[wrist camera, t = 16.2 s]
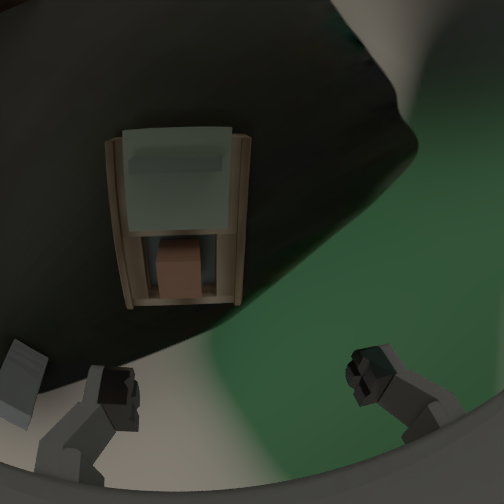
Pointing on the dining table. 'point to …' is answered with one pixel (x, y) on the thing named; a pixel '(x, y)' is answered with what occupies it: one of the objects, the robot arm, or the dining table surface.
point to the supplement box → (20, 383)
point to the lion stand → (9, 4)
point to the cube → (179, 269)
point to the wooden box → (181, 237)
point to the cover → (177, 177)
